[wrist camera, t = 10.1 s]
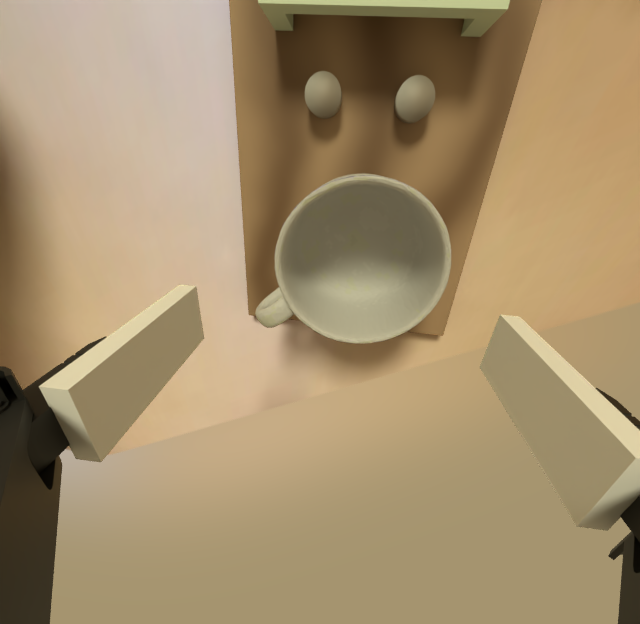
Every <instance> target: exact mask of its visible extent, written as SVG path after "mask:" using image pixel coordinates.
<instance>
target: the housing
mask: <svg viewBox="0 0 640 624" xmlns="http://www.w3.org/2000/svg"><path fill="white" fill-rule="evenodd" d="M509 2H510V0H258V4H259V5H260V7H261V8H262V10H263V12H264V13H265V15H266V16H267V18H268V20H269V21H270V23H271V24H272V26H273V28H274V29H275V30H279V31H293V14H316V15H352V16H389V17H426V18H462V19H464V23H463V28H462V33H461V36H469V37H481V36H482V35H483V34H484V33H485V32H486V31H487V30H488V29H489V28H490V27H491V26H492V25H493V24H494V23H495V22H496V21H497V20H498V19H499V18H500V17H501V16H502V15H503V14H504V13H505V12H506V11H507V9H508V6H509Z"/></svg>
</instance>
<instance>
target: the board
mask: <svg viewBox="0 0 640 624" xmlns="http://www.w3.org/2000/svg"><path fill="white" fill-rule="evenodd" d="M541 3H542V0H510V2H509V6H508V9H507V11H506V12H505V13H504V14H503V15H502V16H501V17H500V18H499V19H498V20H497V21H496V22H495V23H494V24H493V25H492V26H491V27H490V28H489V29H488V30H487V31H486V32H485V33H484V34H483V35H482V36H481V37H469V36H461V33H462V28H463V23H464V19H462V18H426V17H389V16H352V15H316V14H293V31H279V30H275V29H274V28H273V26H272V24H271V23H270V21H269V20H268V18H267V16H266V15H265V13H264V12H263V10H262V8H261V7H260V5H259V4H258V0H229V6H230V22H231V38H232V54H233V70H234V86H235V102H236V118H237V134H238V150H239V166H240V182H241V198H242V214H243V230H244V246H245V262H246V278H247V294H248V310H249V315H253V316H256V314H255V311H256V308H257V307H258V305H259V304H260V303H261V302H262V301H263V300H264V299H265V298H266V297H267V296H268V295H270V294H271V293H272V292H274V291H275V290H276V289H277V288H279V285H278V282H277V278H276V274H275V268H274V267H275V260H274V257H275V249H276V244H277V241H278V238H279V234H280V231H281V228H282V226H283V224H284V222H285V221H286V219H287V218H288V216H289V215H290V214H291V212H292V211H293V210H294V208H295V207H296V206H297V205H298V204H299V203H300V202H301V201H302V200H303V199H304V198H305V197H307V196H308V195H309V194H310V193H311V192H312V191H314V190H316V189H317V188H319V187H320V186H322V185H323V184H325V183H327V182H329V181H331V180H333V179H335V178H338V177H342V176H346V175H351V174H375V175H380V176H384V177H388V178H391V179H395V180H398V181H400V182H403V183H405V184H407V185H409V186H411V187H413V188H415V189H416V190H417V191H419V192H421V193H422V194H423V195H424V196H425V197H426V198H427V199H428V200H429V201H430V202H431V203H432V204H433V205H434V207H435V208H436V209H437V211H438V212H439V214H440V216H441V217H442V219H443V221H444V223H445V225H446V227H447V230H448V234H449V238H450V244H451V269H450V275H449V279H448V283H447V285H446V288H445V290H444V292H443V294H442V296H441V298H440V300H439V301H438V303H437V304H436V306H435V307H434V308H433V310H432V311H431V312H430V313H429V314H428V315H427V316H426V317H425V318H424V319H423V320H422V321H421V322H420V323H419V324H417V325H416V326H414V327H413V328H412V329H410V330H409V331H407V332H413V333H422V334H432V335H441V336H443V334H444V330H445V327H446V323H447V320H448V317H449V313H450V310H451V306H452V303H453V300H454V296H455V293H456V290H457V286H458V283H459V279H460V276H461V273H462V269H463V266H464V263H465V259H466V256H467V252H468V249H469V246H470V242H471V239H472V236H473V232H474V229H475V225H476V222H477V219H478V215H479V212H480V209H481V205H482V202H483V198H484V195H485V192H486V188H487V185H488V182H489V178H490V175H491V171H492V168H493V165H494V161H495V158H496V155H497V151H498V148H499V144H500V141H501V138H502V134H503V131H504V128H505V124H506V121H507V117H508V114H509V111H510V107H511V104H512V100H513V97H514V94H515V90H516V87H517V84H518V80H519V77H520V73H521V70H522V67H523V63H524V60H525V57H526V53H527V50H528V46H529V43H530V40H531V36H532V33H533V30H534V26H535V23H536V19H537V16H538V13H539V9H540V6H541ZM289 319H291V320H300V319H299V318H298V317H297V316H296V315H295V314H294V315H293V316H291V317H290V318H289ZM300 321H301V320H300Z"/></svg>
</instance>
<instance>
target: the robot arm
mask: <svg viewBox="0 0 640 624" xmlns="http://www.w3.org/2000/svg"><path fill="white" fill-rule="evenodd" d="M203 339H204V334H203V328H202V321H201V315H200V308H199V302H198V295H197V289H196V286H189V285H178V286H177V287H176V288H174V289H173V290H171V291H170V292H169V293H167V294H166V295H165V296H163V297H162V298H160V299H159V300H158V301H156V302H155V303H153V304H152V305H151V306H149V307H148V308H147V309H145V310H144V311H142V312H141V313H140V314H138V315H137V316H135V317H134V318H133V319H131V320H130V321H129V322H127V323H126V324H124V325H123V326H122V327H120V328H119V329H118V330H116V331H115V332H113V333H112V334H111V335H109V336H108V337H104V338H101V339H99V340H97V341H95V342H92V343H90V344H88V345H87V346H85V347H84V348H82V349H81V350H80V351H78V352H77V353H75V355H72V356H71V357H70V358H68V359H67V360H65V361H64V363H61V364H60V365H58V366H57V367H55V368H54V369H52V370H51V371H50V372H48V373H47V374H45V375H44V376H42V377H41V378H40V379H38V380H37V381H35V382H34V383H32V384H31V385H30V386H28V387H27V388H25V389H24V390H22V388H21V387H20V385H19V383H18V381H17V379H16V378H15V376H14V374H13V372H12V370H11V369H9V368H7V367H0V624H50V612H51V599H52V586H53V574H54V560H55V548H56V536H57V523H58V510H59V497H60V485H61V473H62V462H61V459H60V457H59V455H60V454H61V452H63V451H64V450H65V449H66V448H67V447H68V446H70V448H71V450H72V452H73V454H74V456H75V458H76V459H80V460H88V461H96V462H102V461H103V459H104V458H105V457H106V456H107V454H108V453H109V452H110V451H111V450H112V448H113V447H114V446H115V445H116V444H117V442H118V441H119V440H120V439H121V438H122V436H123V435H124V434H125V433H126V432H127V430H128V429H129V428H130V427H131V426H132V424H133V423H134V422H135V421H136V420H137V418H138V417H139V416H140V415H141V414H142V412H143V411H144V410H145V409H146V408H147V406H148V405H149V404H150V403H151V402H152V400H153V399H154V398H155V397H156V396H157V394H158V393H159V392H160V391H161V389H162V388H163V387H164V386H165V385H166V383H167V382H168V381H169V380H170V379H171V377H172V376H173V375H174V374H175V373H176V371H177V370H178V369H179V368H180V367H181V365H182V364H183V363H184V362H185V361H186V359H187V358H188V357H189V356H190V355H191V353H192V352H193V351H194V350H195V349H196V347H197V346H198V345H199V344H200V343H201V341H202V340H203ZM480 369H481V370H482V372H483V373H484V375H485V377H486V378H487V380H488V382H489V383H490V385H491V387H492V388H493V390H494V391H495V393H496V395H497V396H498V398H499V400H500V401H501V403H502V404H503V406H504V408H505V410H506V411H507V413H508V414H509V416H510V418H511V419H512V421H513V422H514V424H515V426H516V428H517V429H518V431H519V432H520V434H521V436H522V437H523V439H524V441H525V442H526V444H527V446H528V447H529V449H530V450H531V452H532V454H533V456H534V457H535V459H536V460H537V462H538V464H539V465H540V467H541V468H542V470H543V472H544V474H545V475H546V477H547V479H548V480H549V482H550V483H551V485H552V487H553V488H554V490H555V491H556V493H557V495H558V496H559V498H560V500H561V501H562V503H563V505H564V506H565V508H566V510H567V511H568V513H569V515H570V516H571V518H572V519H573V521H574V523H575V524H576V526H578V527H585V528H593V529H600V530H609V528H611V526H612V525H613V524H614V523H615V522H616V521H617V520H618V519H619V518H620V517H621V518H622V519H623V520H624V522H625V523H626V524H627V526H628V527H629V528H630V530H631V532H630V533H629V534H628V535H627V536H626V537H625V538H624V539H623V540H622V541H621V542H620V543H619V544H618V545H617V546H616V547H615V548H613V549H612V550H611V552H610V554H609V557H611V558H612V559H613V560H614V559H616V557H618V556H619V555H621V554H623V564H622V577H621V591H620V604H619V617H618V624H640V421H639V420H638V419H636V418H635V417H632V416H631V413H630V412H629V411H628V410H627V409H626V408H624V407H623V406H622V405H621V404H620V403H619V402H618V401H617V400H615V399H614V398H612V397H610V396H609V395H607V394H606V393H604V392H603V391H601V390H599V389H598V388H594V387H593V386H592V385H591V384H590V383H589V382H588V381H587V380H586V379H585V378H584V377H583V376H582V375H580V374H579V373H578V372H577V371H576V370H575V369H574V368H573V367H572V366H571V365H570V364H569V363H568V362H567V361H566V360H564V359H563V357H562V356H560V355H559V354H558V353H557V352H556V351H555V350H554V349H553V348H552V347H551V346H550V345H549V344H548V343H547V342H546V341H545V340H544V339H542V338H541V337H540V336H539V335H538V334H537V333H536V332H535V331H534V330H533V329H532V328H531V327H530V326H529V325H528V324H527V323H526V322H525V321H523V320H522V319H521V318H520V317H519V316H509V315H500V316H499V319H498V322H497V324H496V327H495V329H494V332H493V334H492V337H491V339H490V342H489V344H488V347H487V350H486V352H485V355H484V357H483V360H482V363H481V365H480Z"/></svg>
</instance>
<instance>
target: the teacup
mask: <svg viewBox="0 0 640 624" xmlns="http://www.w3.org/2000/svg"><path fill="white" fill-rule="evenodd" d="M274 260H275V267H274V268H275V274H276V278H277V282H278V285H279V288H277V289H276V290H275V291H274V292H272V293H271V294H270V295H268V296H267V297H266V298H265V299H264V300H263V301H262V302H261V303H260V304H259V305H258V307H257V308H256V311H255V314H256V317H257V319H258V320H259V322H260V323H261V324H262V325H263V326H265V327H267V328H272V327H275V326H277V325H279V324H281V323H283V322H285V321H286V320H288V319H289V318H290V317H291V316H293V315H294V314H295V315H296V316H297V317H298V318H299V319H300V320H301V321H302V322H303V323H304V324H306V325H307V326H308V327H310V328H311V329H313V330H314V331H315V332H317V333H319V334H320V335H323V336H325V337H327V338H330V339H333V340H336V341H340V342H345V343H354V344H366V343H373V342H381V341H385V340H388V339H391V338H394V337H396V336H399V335H401V334H403V333H405V332H407V331H409V330H410V329H412V328H413V327H414V326H416V325H417V324H419V323H420V322H421V321H422V320H423V319H424V318H425V317H426V316H427V315H428V314H429V313H430V312H431V311H432V310H433V308H434V307H435V306H436V304H437V303H438V301H439V300H440V298H441V296H442V294H443V292H444V290H445V288H446V285H447V283H448V279H449V275H450V269H451V244H450V238H449V234H448V230H447V227H446V225H445V223H444V221H443V219H442V217H441V216H440V214H439V212H438V211H437V209H436V208H435V207H434V205H433V204H432V203H431V202H430V201H429V200H428V199H427V198H426V197H425V196H424V195H423V194H422V193H421V192H419V191H417V190H416V189H415V188H413V187H411V186H409V185H407V184H405V183H403V182H400V181H398V180H395V179H391V178H388V177H384V176H380V175H375V174H351V175H346V176H342V177H338V178H335V179H333V180H331V181H329V182H327V183H325V184H323V185H322V186H320V187H319V188H317V189H316V190H314V191H312V192H311V193H310V194H309V195H308V196H307V197H305V198H304V199H303V200H302V201H301V202H300V203H299V204H298V205H297V206H296V207H295V208H294V210H293V211H292V212H291V214H290V215H289V216H288V218H287V219H286V221H285V222H284V224H283V226H282V228H281V231H280V234H279V238H278V241H277V244H276V249H275V257H274Z"/></svg>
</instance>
